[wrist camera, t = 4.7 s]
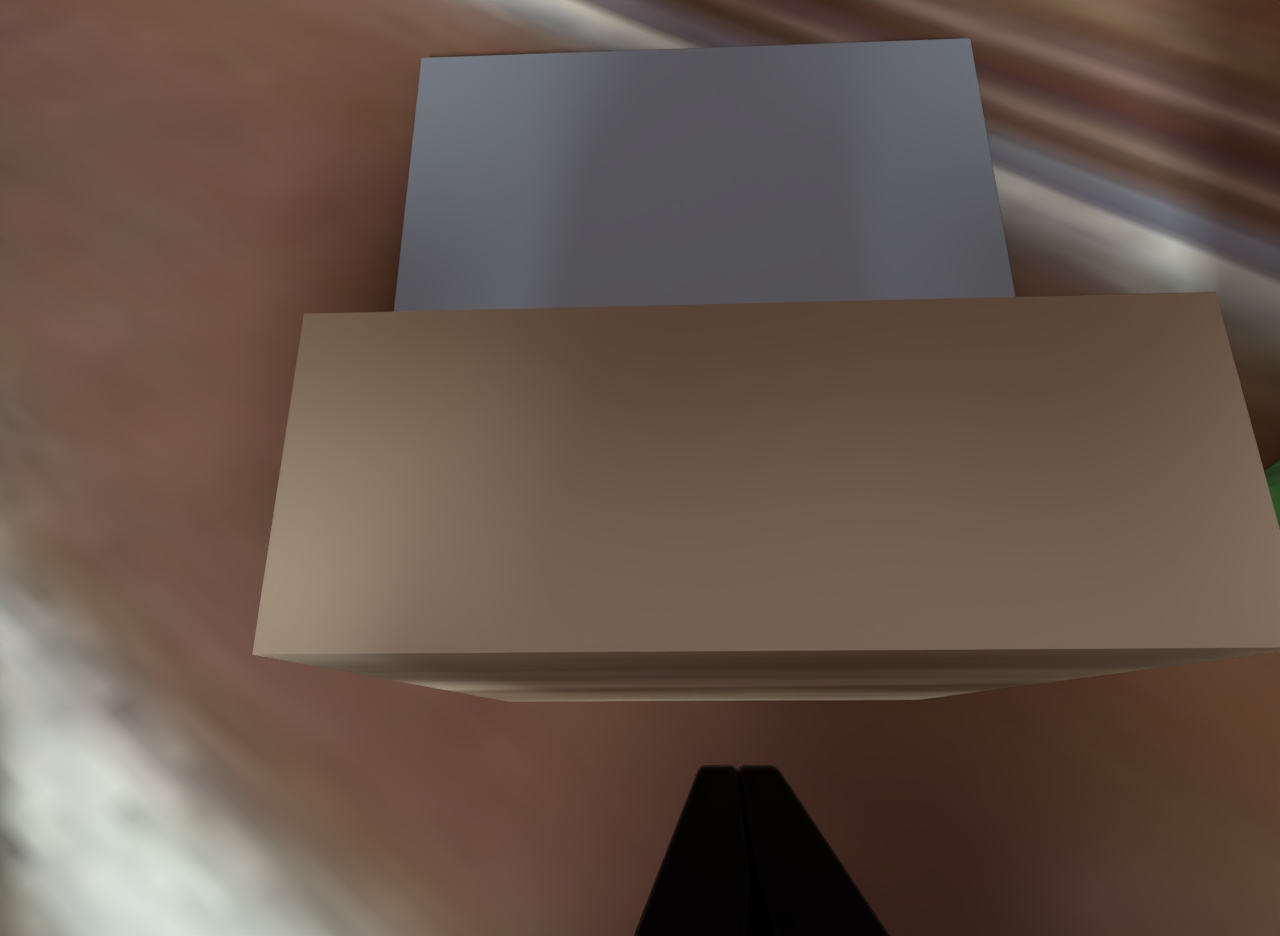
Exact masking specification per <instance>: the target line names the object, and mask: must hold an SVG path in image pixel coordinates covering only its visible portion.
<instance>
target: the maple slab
mask: <svg viewBox="0 0 1280 936" xmlns="http://www.w3.org/2000/svg"><path fill="white" fill-rule="evenodd" d="M1272 652H1280V529H1279V525H1278V521H1277V518H1276V514H1275V510H1274V507H1273V503H1272V499H1271V495H1270V492H1269V488H1268V484H1267V481H1266V477H1265V473H1264V469H1263V466H1262V462H1261V458H1260V454H1259V451H1258V447H1257V443H1256V440H1255V436H1254V432H1253V428H1252V425H1251V421H1250V417H1249V414H1248V410H1247V406H1246V402H1245V399H1244V395H1243V391H1242V388H1241V384H1240V380H1239V376H1238V373H1237V369H1236V365H1235V361H1234V358H1233V354H1232V350H1231V347H1230V343H1229V339H1228V335H1227V332H1226V328H1225V324H1224V321H1223V317H1222V313H1221V309H1220V306H1219V302H1218V298H1217V295H1216V292H1199V293H1157V294H1115V295H1072V296H1030V297H988V298H946V299H904V300H861V301H819V302H777V303H735V304H693V305H650V306H608V307H566V308H524V309H482V310H439V311H397V312H355V313H313V314H304V316H303V323H302V330H301V336H300V343H299V350H298V356H297V363H296V369H295V376H294V383H293V389H292V396H291V403H290V409H289V416H288V422H287V429H286V436H285V442H284V449H283V455H282V462H281V469H280V475H279V482H278V489H277V495H276V502H275V508H274V515H273V522H272V528H271V535H270V542H269V548H268V555H267V561H266V568H265V575H264V581H263V588H262V595H261V601H260V608H259V614H258V621H257V628H256V634H255V641H254V647H253V654H254V655H259V656H265V657H270V658H275V659H281V660H286V661H292V662H297V663H303V664H308V665H313V666H319V667H324V668H330V669H335V670H340V671H346V672H351V673H357V674H362V675H367V676H373V677H378V678H384V679H389V680H394V681H400V682H405V683H411V684H416V685H422V686H427V687H432V688H438V689H443V690H449V691H454V692H459V693H465V694H470V695H476V696H481V697H486V698H492V699H497V700H503V701H508V702H535V701H780V700H921V699H928V698H935V697H943V696H950V695H958V694H965V693H973V692H980V691H988V690H995V689H1003V688H1010V687H1018V686H1025V685H1033V684H1040V683H1048V682H1055V681H1063V680H1070V679H1078V678H1085V677H1093V676H1100V675H1108V674H1115V673H1123V672H1130V671H1138V670H1145V669H1153V668H1160V667H1168V666H1175V665H1183V664H1190V663H1198V662H1205V661H1213V660H1220V659H1228V658H1235V657H1243V656H1250V655H1258V654H1265V653H1272Z"/></svg>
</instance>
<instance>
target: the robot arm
mask: <svg viewBox="0 0 1280 936" xmlns="http://www.w3.org/2000/svg"><path fill="white" fill-rule="evenodd" d="M634 936H890V935H889V934H888V932H887V931H886V929H885V928H884V926H883V925H882V923H881V922H880V920H879V919H878V917H877V916H876V914H875V913H874V911H873V910H872V908H871V907H870V905H869V904H868V902H867V901H866V899H865V898H864V896H863V895H862V893H861V892H860V890H859V889H858V887H857V886H856V884H855V883H854V881H853V880H852V878H851V877H850V875H849V874H848V872H847V871H846V869H845V868H844V866H843V865H842V863H841V862H840V860H839V859H838V857H837V856H836V854H835V853H834V851H833V850H832V848H831V847H830V845H829V844H828V842H827V841H826V839H825V838H824V836H823V835H822V833H821V832H820V830H819V829H818V827H817V826H816V824H815V823H814V821H813V820H812V818H811V817H810V815H809V814H808V812H807V811H806V809H805V808H804V806H803V805H802V803H801V802H800V800H799V799H798V797H797V796H796V794H795V793H794V791H793V790H792V788H791V787H790V785H789V784H788V782H787V781H786V779H785V778H784V776H783V775H782V773H781V772H780V770H779V769H778V768H777V767H775V766H773V765H743V766H741V767H740V768H739V769H738V771H737V769H736V767H734V766H733V765H703V766H701V767H700V768H699V769H698V771H697V773H696V775H695V778H694V781H693V783H692V786H691V788H690V791H689V793H688V796H687V799H686V801H685V804H684V806H683V809H682V812H681V814H680V817H679V819H678V822H677V825H676V827H675V830H674V832H673V835H672V838H671V840H670V843H669V845H668V848H667V851H666V853H665V856H664V858H663V861H662V864H661V866H660V869H659V871H658V874H657V877H656V879H655V882H654V884H653V887H652V890H651V892H650V895H649V897H648V900H647V903H646V905H645V908H644V910H643V913H642V916H641V918H640V921H639V923H638V926H637V929H636V931H635V934H634Z"/></svg>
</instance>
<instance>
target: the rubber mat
mask: <svg viewBox="0 0 1280 936" xmlns="http://www.w3.org/2000/svg"><path fill="white" fill-rule="evenodd" d="M988 297H1015V291H1014V285H1013V279H1012V274H1011V268H1010V262H1009V257H1008V251H1007V245H1006V240H1005V234H1004V228H1003V223H1002V217H1001V211H1000V206H999V200H998V194H997V189H996V183H995V177H994V172H993V166H992V160H991V155H990V149H989V143H988V137H987V132H986V126H985V120H984V115H983V109H982V103H981V98H980V92H979V86H978V81H977V75H976V69H975V64H974V58H973V52H972V47H971V41H970V38H964V39H936V40H908V41H880V42H853V43H825V44H797V45H769V46H741V47H713V48H686V49H658V50H630V51H602V52H574V53H546V54H518V55H491V56H463V57H435V58H422V60H421V69H420V78H419V87H418V96H417V105H416V114H415V124H414V133H413V142H412V151H411V160H410V169H409V178H408V187H407V196H406V205H405V214H404V223H403V232H402V242H401V251H400V260H399V269H398V278H397V287H396V296H395V305H394V312H397V311H439V310H482V309H524V308H566V307H608V306H650V305H693V304H735V303H777V302H819V301H861V300H904V299H946V298H988Z"/></svg>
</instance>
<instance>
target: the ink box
mask: <svg viewBox="0 0 1280 936" xmlns="http://www.w3.org/2000/svg"><path fill="white" fill-rule="evenodd" d="M1264 473H1265V477H1266V481H1267V484H1268V488H1269V492H1270V495H1271V499H1272V503H1273V507H1274V510H1275V514H1276V518H1277V521H1278V525H1279V529H1280V460H1279V461H1278V462H1276V463H1275V464H1273V465H1272V466H1271V467H1269V468H1268V469H1266V470H1265V471H1264Z"/></svg>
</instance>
